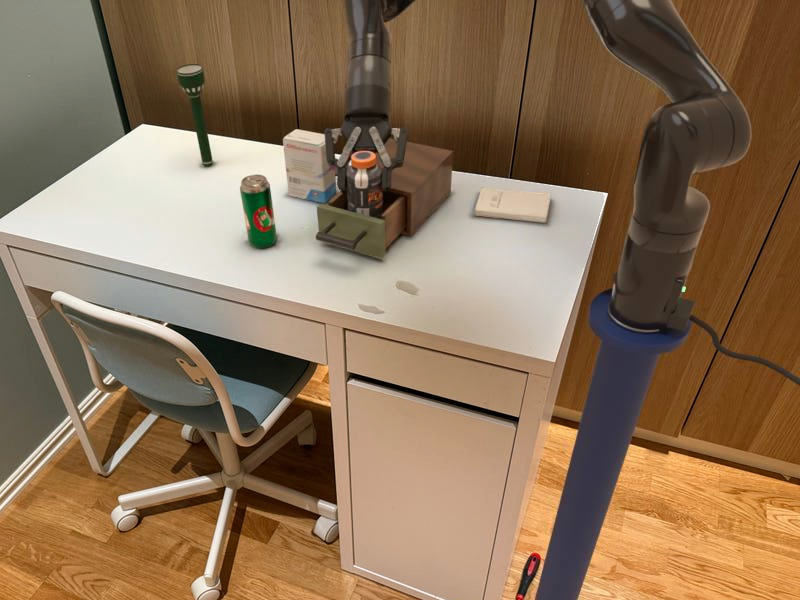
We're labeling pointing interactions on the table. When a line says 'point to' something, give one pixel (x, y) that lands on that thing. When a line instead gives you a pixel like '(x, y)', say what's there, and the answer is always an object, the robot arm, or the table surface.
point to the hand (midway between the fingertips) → (363, 191)
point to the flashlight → (196, 105)
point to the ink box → (308, 166)
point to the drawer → (362, 224)
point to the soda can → (258, 211)
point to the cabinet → (420, 180)
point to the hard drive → (513, 205)
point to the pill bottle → (365, 185)
